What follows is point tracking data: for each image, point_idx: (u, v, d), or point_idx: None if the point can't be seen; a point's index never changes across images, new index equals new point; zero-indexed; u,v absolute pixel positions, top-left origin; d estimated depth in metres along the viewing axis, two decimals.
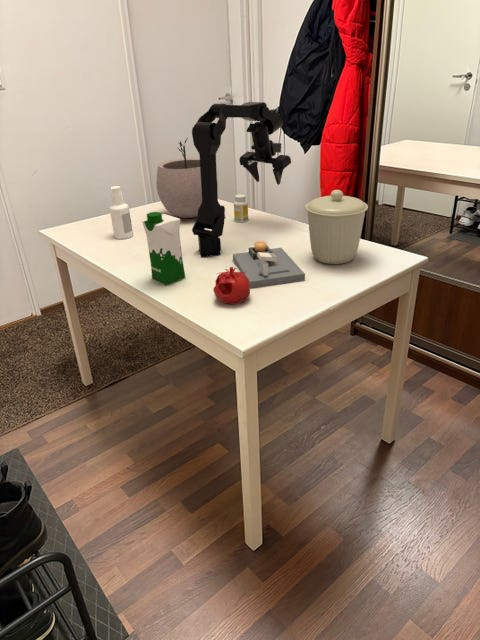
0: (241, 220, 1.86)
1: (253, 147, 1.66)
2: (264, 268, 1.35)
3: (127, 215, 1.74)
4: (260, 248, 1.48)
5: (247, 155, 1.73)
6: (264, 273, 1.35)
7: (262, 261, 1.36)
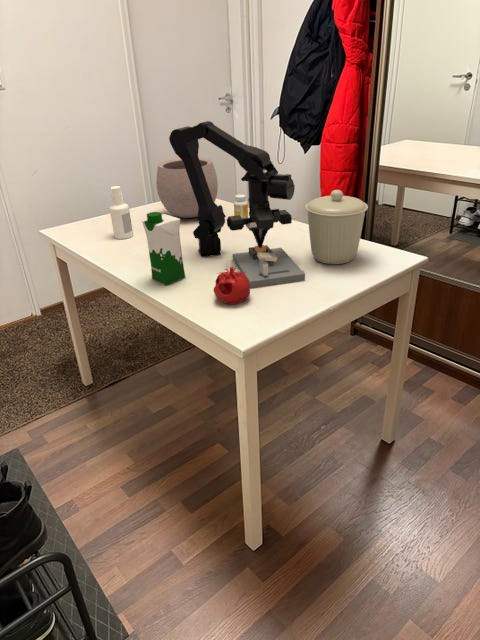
0: None
1: None
2: (264, 268, 1.35)
3: (127, 215, 1.74)
4: (260, 251, 1.48)
5: (279, 211, 1.47)
6: (264, 273, 1.35)
7: (262, 261, 1.36)
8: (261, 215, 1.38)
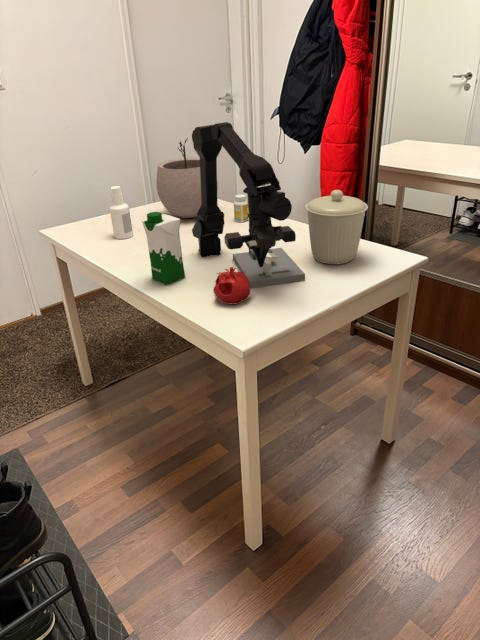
0: (241, 220, 1.86)
1: None
2: (267, 268, 1.35)
3: (127, 215, 1.74)
4: None
5: (282, 228, 1.33)
6: (267, 273, 1.36)
7: (265, 261, 1.36)
8: (262, 233, 1.25)
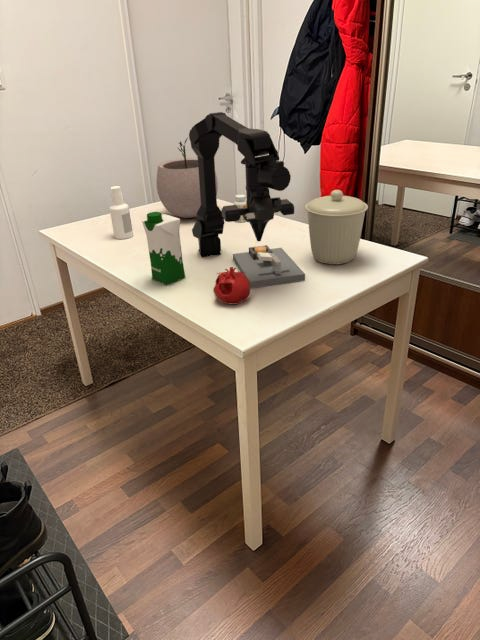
0: (241, 220, 1.86)
1: None
2: (277, 266, 1.35)
3: (127, 215, 1.74)
4: None
5: (280, 201, 1.30)
6: (277, 271, 1.36)
7: (275, 259, 1.37)
8: (260, 204, 1.22)
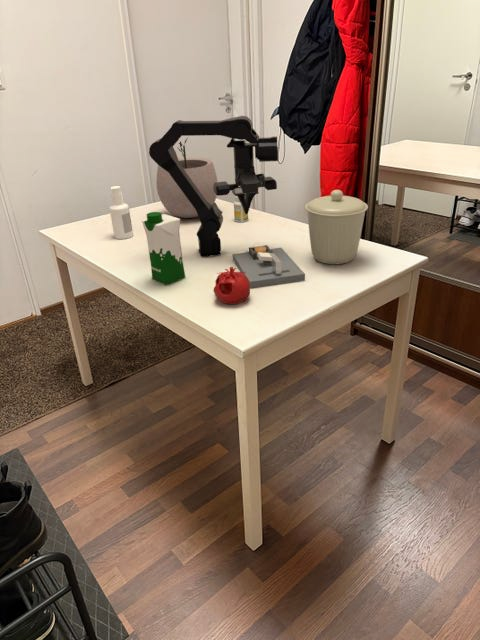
0: (241, 220, 1.86)
1: None
2: (277, 266, 1.35)
3: (127, 215, 1.74)
4: None
5: (265, 178, 1.49)
6: (277, 271, 1.36)
7: (275, 259, 1.37)
8: (246, 179, 1.41)
